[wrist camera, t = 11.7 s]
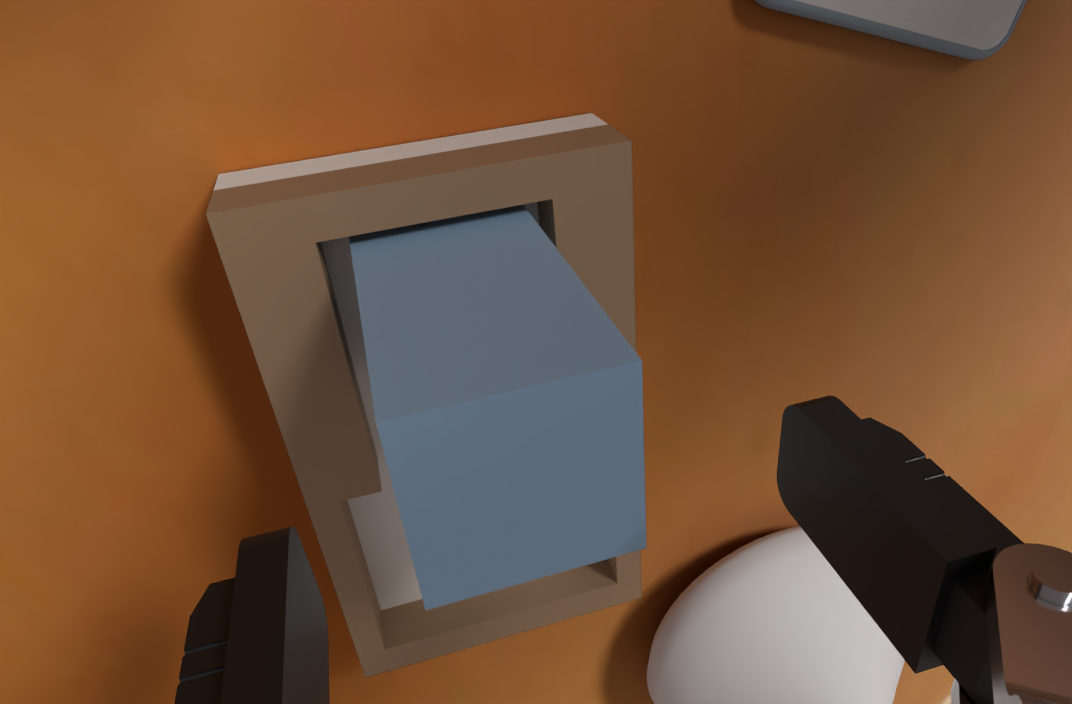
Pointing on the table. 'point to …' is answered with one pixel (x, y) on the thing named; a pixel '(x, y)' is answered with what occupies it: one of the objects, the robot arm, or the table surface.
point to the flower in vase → (771, 634)
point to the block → (499, 403)
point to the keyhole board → (340, 359)
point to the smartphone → (919, 21)
